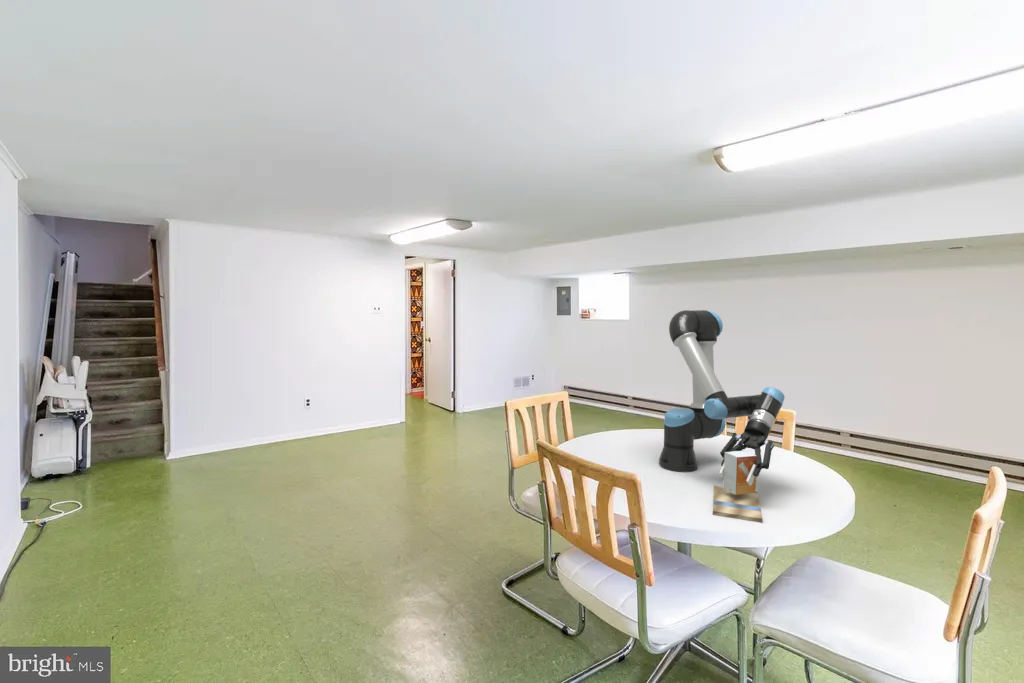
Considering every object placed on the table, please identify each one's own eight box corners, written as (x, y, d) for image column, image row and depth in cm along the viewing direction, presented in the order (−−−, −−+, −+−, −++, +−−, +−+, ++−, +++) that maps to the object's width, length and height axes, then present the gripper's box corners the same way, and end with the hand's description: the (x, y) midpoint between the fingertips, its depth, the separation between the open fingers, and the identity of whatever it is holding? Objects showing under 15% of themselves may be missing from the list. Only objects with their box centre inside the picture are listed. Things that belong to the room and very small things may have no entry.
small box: (735, 495, 158) (736, 457, 158) (722, 488, 164) (723, 451, 164) (756, 493, 160) (757, 455, 159) (743, 486, 166) (744, 450, 166)
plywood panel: (712, 514, 151) (712, 510, 150) (713, 488, 172) (713, 485, 172) (762, 522, 145) (762, 518, 145) (757, 494, 167) (757, 491, 167)
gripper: (726, 413, 175) (701, 464, 167) (788, 425, 158) (763, 482, 150) (733, 426, 179) (709, 476, 170) (794, 438, 162) (771, 494, 153)
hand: (734, 479), depth 160 cm, fingers closed on small box, 9 cm apart
